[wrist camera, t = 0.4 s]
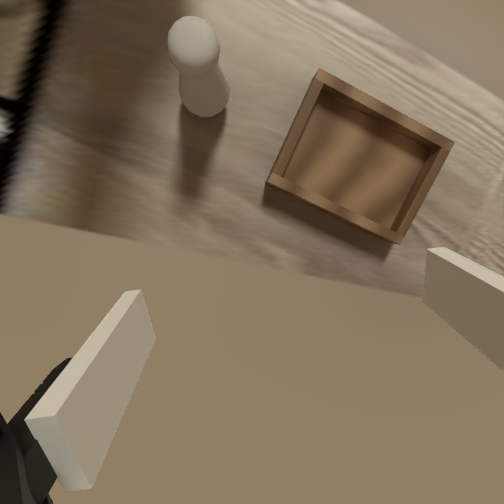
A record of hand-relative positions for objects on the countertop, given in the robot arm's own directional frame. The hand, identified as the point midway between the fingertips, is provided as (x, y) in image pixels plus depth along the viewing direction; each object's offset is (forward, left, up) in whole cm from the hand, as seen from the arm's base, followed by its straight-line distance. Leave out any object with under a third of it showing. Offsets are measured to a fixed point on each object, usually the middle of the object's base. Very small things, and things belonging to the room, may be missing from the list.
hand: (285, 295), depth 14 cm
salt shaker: (-18, +1, -26) cm, 32 cm away
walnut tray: (-4, +16, -26) cm, 31 cm away
